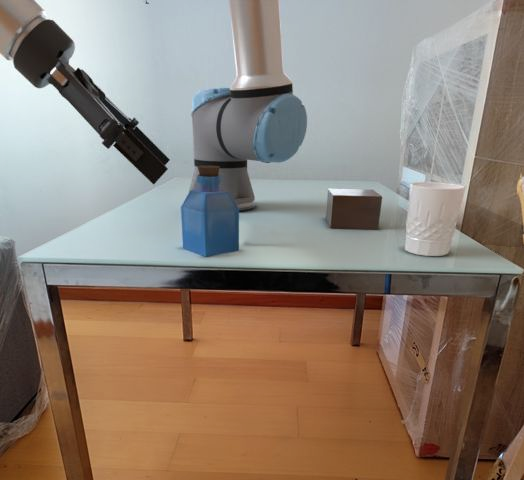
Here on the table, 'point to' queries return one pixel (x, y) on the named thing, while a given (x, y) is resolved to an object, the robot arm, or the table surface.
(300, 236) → the table surface
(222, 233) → the perfume bottle
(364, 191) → the walnut block
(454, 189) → the white cup
